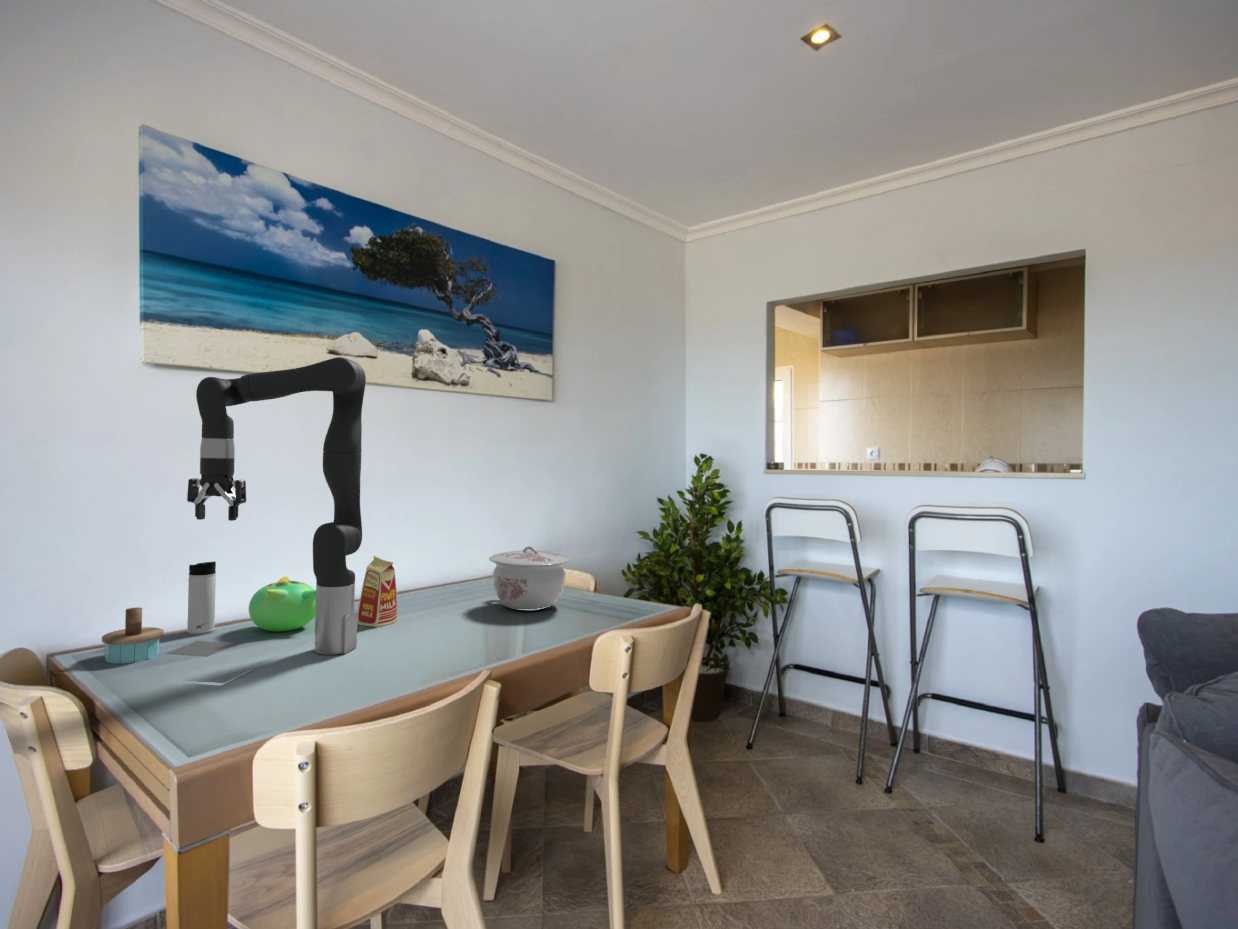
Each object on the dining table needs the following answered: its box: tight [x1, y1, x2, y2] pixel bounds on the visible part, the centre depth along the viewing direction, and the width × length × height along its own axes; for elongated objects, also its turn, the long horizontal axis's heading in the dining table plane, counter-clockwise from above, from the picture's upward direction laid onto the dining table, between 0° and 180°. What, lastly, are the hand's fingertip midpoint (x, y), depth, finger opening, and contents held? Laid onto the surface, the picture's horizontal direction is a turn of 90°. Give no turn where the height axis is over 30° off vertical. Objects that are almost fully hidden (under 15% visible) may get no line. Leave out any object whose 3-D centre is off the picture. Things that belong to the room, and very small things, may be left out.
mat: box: [164, 640, 238, 657], centre depth 168 cm, size 11×11×1 cm
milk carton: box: [357, 555, 399, 628], centre depth 200 cm, size 9×9×20 cm
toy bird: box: [248, 576, 316, 633], centre depth 188 cm, size 18×17×15 cm
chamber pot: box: [488, 545, 571, 610], centre depth 226 cm, size 28×28×21 cm
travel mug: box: [187, 561, 217, 636], centre depth 181 cm, size 6×7×20 cm
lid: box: [101, 607, 164, 645], centre depth 160 cm, size 12×12×7 cm
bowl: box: [104, 638, 160, 664], centre depth 160 cm, size 10×10×5 cm
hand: (216, 519), depth 170 cm, fingers open, 8 cm apart
